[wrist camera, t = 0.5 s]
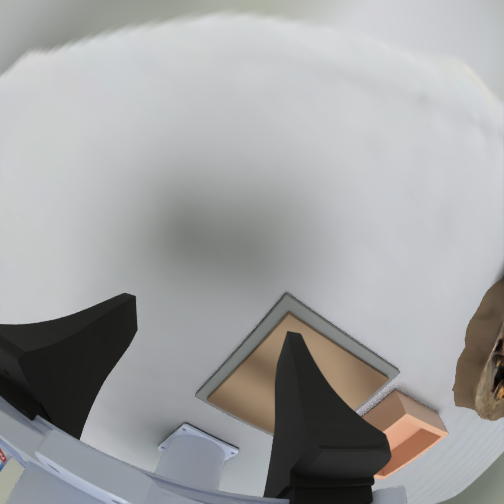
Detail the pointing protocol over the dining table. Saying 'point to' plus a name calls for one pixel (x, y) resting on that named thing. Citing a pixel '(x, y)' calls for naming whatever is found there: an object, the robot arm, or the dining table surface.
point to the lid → (264, 371)
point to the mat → (313, 320)
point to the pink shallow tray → (405, 429)
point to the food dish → (483, 359)
